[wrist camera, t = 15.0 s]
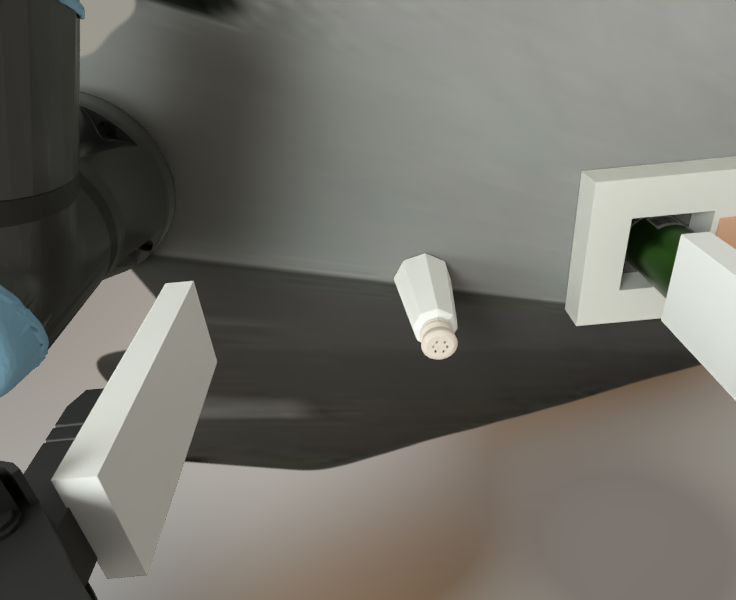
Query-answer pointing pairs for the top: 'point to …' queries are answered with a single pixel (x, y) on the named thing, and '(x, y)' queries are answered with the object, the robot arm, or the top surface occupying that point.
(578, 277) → the socket block
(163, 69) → the top surface
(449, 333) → the salt shaker
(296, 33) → the top surface
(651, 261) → the beer can
